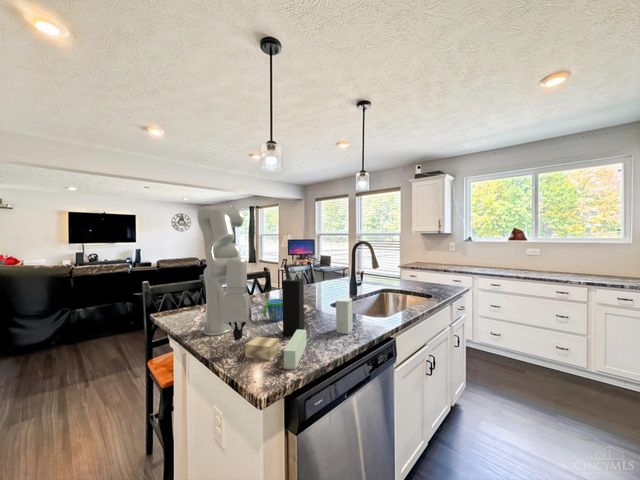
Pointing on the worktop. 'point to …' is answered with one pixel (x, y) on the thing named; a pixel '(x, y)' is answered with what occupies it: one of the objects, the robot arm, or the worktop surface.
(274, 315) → the snack cup
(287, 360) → the board
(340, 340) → the worktop surface
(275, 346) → the maple block
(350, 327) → the skincare box
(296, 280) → the tall black block
